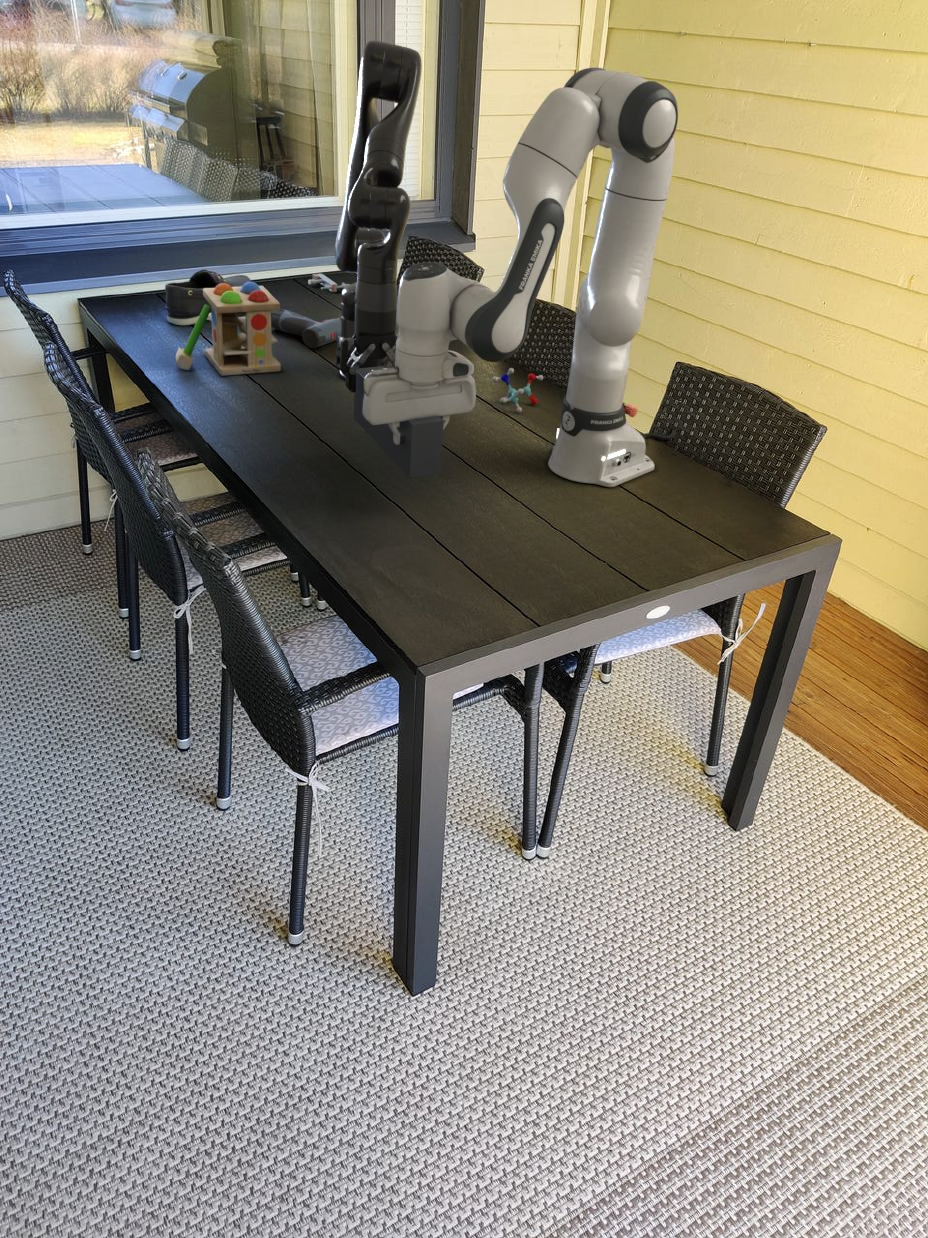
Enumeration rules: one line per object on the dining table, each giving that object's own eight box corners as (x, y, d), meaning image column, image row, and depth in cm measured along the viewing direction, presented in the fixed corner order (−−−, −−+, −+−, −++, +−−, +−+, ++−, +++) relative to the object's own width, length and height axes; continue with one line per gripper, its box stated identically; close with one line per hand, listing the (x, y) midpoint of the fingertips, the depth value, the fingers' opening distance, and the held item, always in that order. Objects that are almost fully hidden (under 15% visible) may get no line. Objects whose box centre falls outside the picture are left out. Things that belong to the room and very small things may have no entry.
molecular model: (539, 404, 216) (525, 360, 215) (500, 418, 220) (486, 375, 218) (551, 402, 227) (538, 360, 225) (514, 416, 230) (501, 374, 229)
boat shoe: (273, 303, 272) (271, 265, 267) (185, 327, 248) (181, 285, 243) (238, 295, 278) (236, 257, 272) (149, 317, 254) (144, 276, 249)
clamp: (303, 274, 289) (334, 272, 294) (303, 281, 290) (334, 279, 295) (323, 288, 279) (355, 286, 283) (323, 296, 280) (355, 294, 285)
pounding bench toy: (183, 379, 220) (176, 299, 210) (169, 357, 231) (162, 280, 221) (282, 371, 230) (280, 294, 220) (264, 350, 240) (262, 276, 230)
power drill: (305, 316, 264) (364, 334, 256) (257, 332, 251) (318, 351, 243) (305, 296, 261) (365, 314, 253) (257, 311, 248) (318, 330, 240)
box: (353, 418, 192) (354, 368, 186) (382, 415, 194) (383, 365, 188) (409, 478, 172) (411, 424, 166) (440, 473, 175) (443, 420, 169)
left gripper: (346, 313, 172) (344, 400, 181) (420, 307, 178) (415, 392, 187) (331, 299, 177) (330, 385, 186) (403, 295, 183) (399, 378, 192)
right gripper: (371, 377, 159) (370, 455, 167) (482, 364, 167) (476, 439, 175) (356, 364, 163) (356, 440, 171) (466, 352, 172) (461, 426, 179)
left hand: (373, 388), depth 186 cm, fingers open, 8 cm apart
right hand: (418, 440), depth 173 cm, fingers closed on box, 6 cm apart
